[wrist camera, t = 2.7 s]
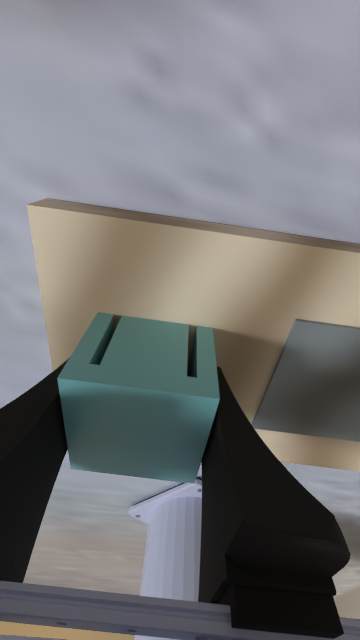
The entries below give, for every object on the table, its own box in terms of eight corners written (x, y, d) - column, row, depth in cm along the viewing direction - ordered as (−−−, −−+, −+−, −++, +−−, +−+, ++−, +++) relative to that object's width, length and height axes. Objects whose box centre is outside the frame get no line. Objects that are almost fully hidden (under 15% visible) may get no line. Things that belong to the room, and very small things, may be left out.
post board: (506, 266, 11) (666, 324, 7) (358, 450, 18) (401, 529, 14) (46, 198, 11) (-36, 224, 7) (72, 414, 18) (38, 487, 14)
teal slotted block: (212, 327, 12) (219, 398, 8) (194, 405, 14) (194, 483, 11) (97, 312, 12) (57, 377, 8) (100, 393, 14) (70, 469, 11)
